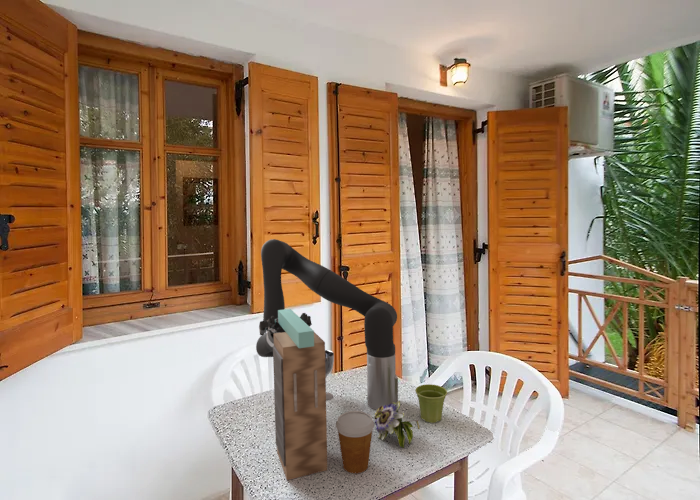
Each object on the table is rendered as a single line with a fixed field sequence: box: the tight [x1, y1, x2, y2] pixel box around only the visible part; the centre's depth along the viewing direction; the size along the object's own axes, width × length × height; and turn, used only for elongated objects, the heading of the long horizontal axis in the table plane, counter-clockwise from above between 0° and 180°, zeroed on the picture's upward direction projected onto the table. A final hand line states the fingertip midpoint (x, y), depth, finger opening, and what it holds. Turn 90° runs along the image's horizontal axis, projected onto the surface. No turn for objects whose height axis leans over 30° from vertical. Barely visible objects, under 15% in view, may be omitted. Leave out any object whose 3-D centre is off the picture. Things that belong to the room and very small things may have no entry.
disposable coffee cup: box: [335, 410, 375, 475], centre depth 99 cm, size 10×10×12 cm
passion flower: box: [373, 400, 421, 449], centre depth 112 cm, size 11×11×12 cm
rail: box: [278, 308, 315, 348], centre depth 103 cm, size 4×24×4 cm, turn 21°
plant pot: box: [414, 383, 448, 424], centre depth 122 cm, size 9×9×9 cm
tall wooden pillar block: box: [272, 331, 328, 481], centre depth 100 cm, size 10×12×32 cm
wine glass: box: [325, 349, 335, 402], centre depth 138 cm, size 8×8×15 cm
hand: (289, 318), depth 108 cm, fingers open, 8 cm apart
